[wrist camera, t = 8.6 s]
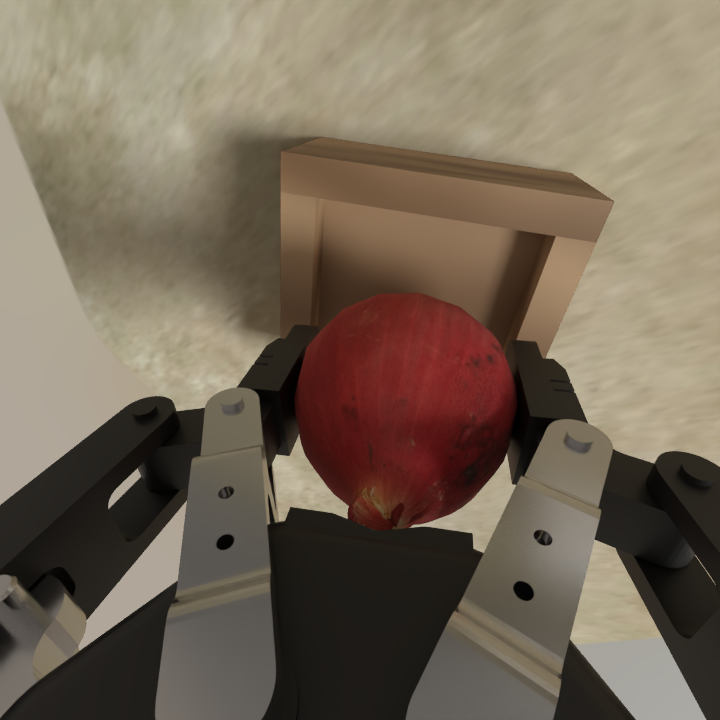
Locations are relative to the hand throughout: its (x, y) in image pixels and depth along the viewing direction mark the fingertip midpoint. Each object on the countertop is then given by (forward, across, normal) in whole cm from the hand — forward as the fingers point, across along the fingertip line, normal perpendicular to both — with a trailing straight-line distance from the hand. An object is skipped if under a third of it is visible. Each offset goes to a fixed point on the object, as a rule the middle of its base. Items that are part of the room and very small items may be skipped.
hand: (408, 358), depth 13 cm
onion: (+2, 0, 0) cm, 2 cm away
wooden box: (+8, 0, 0) cm, 8 cm away
